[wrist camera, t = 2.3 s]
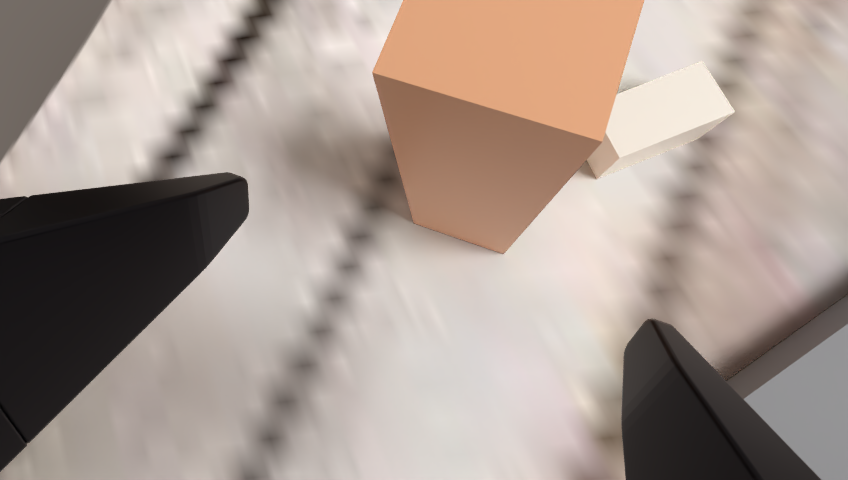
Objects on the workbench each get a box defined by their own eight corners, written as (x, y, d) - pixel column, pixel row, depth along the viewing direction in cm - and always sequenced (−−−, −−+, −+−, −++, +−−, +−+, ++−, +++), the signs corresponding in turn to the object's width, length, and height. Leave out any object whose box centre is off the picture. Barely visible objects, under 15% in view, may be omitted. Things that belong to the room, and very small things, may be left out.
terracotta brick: (503, 253, 21) (602, 141, 8) (414, 223, 21) (371, 72, 8) (531, 168, 22) (660, -55, 9) (444, 141, 22) (448, -106, 9)
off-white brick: (595, 180, 21) (619, 157, 19) (570, 133, 22) (590, 104, 19) (695, 140, 22) (735, 111, 19) (668, 95, 22) (702, 60, 19)
